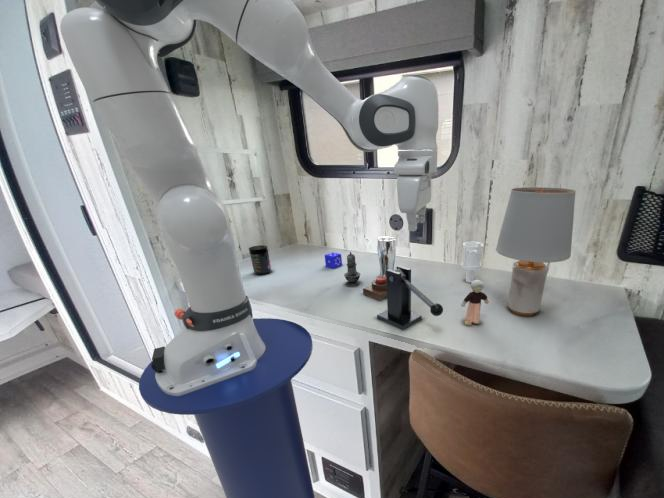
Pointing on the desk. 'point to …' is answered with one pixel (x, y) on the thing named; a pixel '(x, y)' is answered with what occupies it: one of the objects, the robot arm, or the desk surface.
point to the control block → (376, 290)
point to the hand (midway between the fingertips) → (416, 226)
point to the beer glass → (386, 254)
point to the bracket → (399, 301)
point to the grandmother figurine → (474, 302)
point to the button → (381, 280)
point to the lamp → (535, 241)
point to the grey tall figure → (352, 271)
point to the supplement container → (260, 260)
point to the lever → (421, 295)
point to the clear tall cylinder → (471, 259)
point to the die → (333, 260)
